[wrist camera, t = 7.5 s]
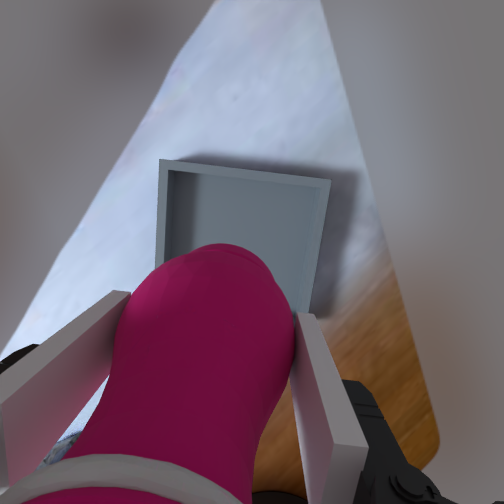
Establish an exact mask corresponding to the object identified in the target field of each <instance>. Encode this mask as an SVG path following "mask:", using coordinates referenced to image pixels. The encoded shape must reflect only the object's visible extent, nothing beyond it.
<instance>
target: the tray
mask: <svg viewBox="0 0 504 504" xmlns="http://www.w3.org/2000/svg"><path fill="white" fill-rule="evenodd" d="M331 181H332V180H331V179H322V178H314V177H306V176H297V175H289V174H281V173H272V172H264V171H256V170H248V169H239V168H231V167H223V166H214V165H206V164H198V163H189V162H181V161H173V160H164V159H159V181H158V205H157V230H156V254H155V269H156V268H158V267H159V266H160V265H162V264H163V263H165V262H167V261H169V260H171V259H173V258H176V257H178V256H181V255H184V254H188V253H190V252H191V251H193V250H195V249H197V248H199V247H202V246H205V245H209V244H217V243H224V244H232V245H236V246H239V247H243V248H245V249H247V250H249V251H251V252H252V253H254V254H255V255H257V256H258V257H259V258H260V259H261V260H262V261H263V262H264V263H265V264H266V266H267V267H268V268H269V270H270V271H271V273H272V275H273V277H274V280H275V282H276V283H277V284H278V286H279V287H280V289H281V290H282V292H283V293H284V295H285V297H286V299H287V301H288V303H289V306H290V309H291V312H292V315H293V322H294V327H295V321H296V315H297V312H301V313H308V312H309V307H310V301H311V295H312V289H313V284H314V278H315V272H316V267H317V261H318V255H319V250H320V244H321V238H322V232H323V227H324V221H325V215H326V210H327V204H328V198H329V193H330V187H331Z"/></svg>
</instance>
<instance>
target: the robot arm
mask: <svg viewBox="0 0 504 504" xmlns="http://www.w3.org/2000/svg"><path fill="white" fill-rule="evenodd" d="M130 297H131V292H125V291H116V290H113V291H112V292H110V293H109V294H108V295H106V296H105V297H103V298H102V299H101V300H99V301H98V302H97V303H95V304H94V305H93V306H91V307H90V308H89V309H87V310H86V311H85V312H83V313H82V314H81V315H79V316H78V317H77V318H75V319H74V320H73V321H71V322H70V323H69V324H67V325H66V326H65V327H63V328H62V329H61V330H59V331H58V332H56V333H55V334H54V335H52V336H51V337H50V338H48V339H47V340H46V341H44V342H43V343H42V344H40V345H39V344H31V345H29V346H27V347H24V348H22V349H20V350H17V351H15V352H13V353H12V354H10V355H9V356H8V357H6V358H5V359H3V360H2V361H0V495H1V494H3V493H4V492H5V491H6V490H7V489H9V488H10V487H11V486H12V485H14V484H15V483H16V482H17V481H18V480H20V479H22V478H24V477H25V476H27V475H29V474H31V473H33V472H34V471H35V469H36V468H37V467H38V465H39V464H40V463H41V462H42V460H43V459H44V458H45V456H46V455H47V454H48V453H49V451H50V450H51V449H52V447H53V446H54V445H55V444H56V442H57V441H58V440H59V438H60V437H61V436H62V435H63V433H64V432H65V431H66V429H67V428H68V427H69V426H70V424H71V423H72V422H73V420H74V419H75V418H76V417H77V415H78V414H79V413H80V411H81V410H82V409H83V408H84V406H85V405H86V404H87V402H88V401H89V400H90V399H91V397H92V396H93V395H94V393H95V392H96V391H97V390H98V388H99V387H100V386H101V384H102V383H103V382H104V381H105V379H106V378H107V377H108V375H109V374H110V370H111V365H112V356H113V347H114V337H115V333H116V329H117V326H118V323H119V320H120V317H121V315H122V312H123V310H124V308H125V306H126V304H127V302H128V301H129V299H130ZM294 333H295V351H294V360H293V363H292V367H291V370H290V374H289V378H290V385H291V391H292V398H293V405H294V411H295V418H296V425H297V431H298V438H299V445H300V451H301V458H302V465H303V471H304V478H305V485H306V491H307V498H308V502H307V501H306V500H304V499H302V498H299V497H297V496H294V495H291V494H287V493H281V492H261V493H255V494H252V504H457V503H455V502H452V501H450V500H448V499H446V498H444V497H442V496H441V494H440V492H439V490H438V489H437V487H436V486H435V485H434V483H433V482H432V481H431V480H430V479H429V478H428V477H427V476H426V475H425V474H424V473H422V472H421V471H420V470H419V469H417V468H416V467H414V466H412V465H410V464H408V462H407V460H406V458H405V456H404V454H403V452H402V451H401V449H400V447H399V445H398V443H397V441H396V439H395V437H394V435H393V433H392V432H391V430H390V428H389V426H388V424H387V422H386V420H384V416H383V414H382V413H381V411H380V409H378V405H377V403H376V401H375V399H374V397H373V395H372V393H371V392H370V391H369V390H368V389H367V388H366V387H365V386H364V385H362V384H361V383H360V382H359V381H351V380H342V379H341V378H340V376H339V373H338V371H337V368H336V366H335V363H334V361H333V358H332V356H331V354H330V351H329V349H328V346H327V344H326V341H325V339H324V336H323V334H322V332H321V329H320V327H319V324H318V322H317V319H316V317H315V314H309V313H301V312H297V315H296V321H295V327H294ZM493 504H504V502H503V501H495V502H494V503H493Z"/></svg>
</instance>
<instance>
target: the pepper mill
mask: <svg viewBox="0 0 504 504" xmlns="http://www.w3.org/2000/svg"><path fill="white" fill-rule="evenodd" d="M294 351H295V333H294V322H293V315H292V312H291V309H290V306H289V303H288V301H287V299H286V297H285V295H284V293H283V292H282V290H281V289H280V287H279V286H278V284H277V283H276V282H275V280H274V277H273V275H272V273H271V271H270V270H269V268H268V267H267V266H266V264H265V263H264V262H263V261H262V260H261V259H260V258H259V257H258V256H257V255H255V254H254V253H252V252H251V251H249V250H247V249H245V248H243V247H239V246H236V245H232V244H224V243H217V244H209V245H205V246H202V247H199V248H197V249H195V250H193V251H191V252H190V253H188V254H184V255H181V256H178V257H176V258H173V259H171V260H169V261H167V262H165V263H163V264H162V265H160V266H159V267H158V268H156V269H155V270H154V271H152V272H151V273H150V274H149V275H148V276H147V277H146V279H145V280H144V281H143V282H142V283H141V284H140V285H139V286H138V288H137V289H136V290H135V291H134V292H133V293H132V295H131V297H130V299H129V301H128V302H127V304H126V306H125V308H124V310H123V312H122V315H121V317H120V320H119V323H118V326H117V329H116V333H115V337H114V347H113V356H112V365H111V370H110V375H109V378H108V381H107V384H106V386H105V389H104V391H103V394H102V397H101V399H100V402H99V404H98V405H97V407H96V409H95V410H94V412H93V414H92V416H91V417H90V419H89V421H88V422H87V424H86V426H85V427H84V429H83V431H82V433H81V434H80V436H79V438H78V439H77V441H76V442H75V443H74V444H73V445H72V447H71V448H70V449H69V450H68V452H67V453H66V454H65V455H64V456H63V458H62V459H61V460H60V461H59V462H56V463H53V464H51V465H48V466H46V467H43V468H40V469H38V470H37V471H35V472H33V473H31V474H29V475H27V476H25V477H24V478H22V479H20V480H18V481H17V482H16V483H15V484H14V485H12V486H11V487H10V488H9V489H7V490H6V491H5V492H4V493H3V494H1V495H0V504H252V482H253V471H254V460H255V455H256V451H257V447H258V444H259V440H260V437H261V434H262V432H263V430H264V428H265V426H266V424H267V422H268V419H269V417H270V416H271V414H272V412H273V410H274V408H275V406H276V405H277V403H278V401H279V399H280V397H281V395H282V393H283V391H284V389H285V387H286V384H287V381H288V377H289V374H290V370H291V367H292V363H293V360H294Z"/></svg>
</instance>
